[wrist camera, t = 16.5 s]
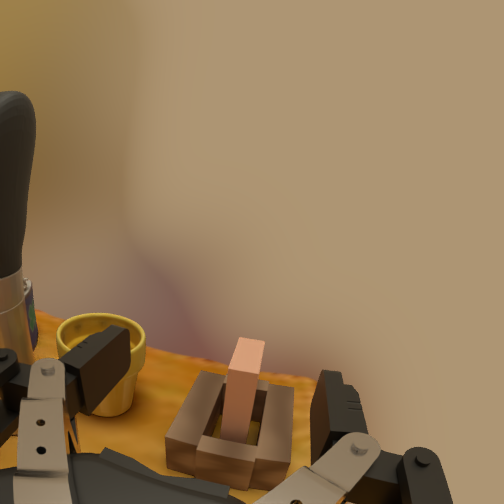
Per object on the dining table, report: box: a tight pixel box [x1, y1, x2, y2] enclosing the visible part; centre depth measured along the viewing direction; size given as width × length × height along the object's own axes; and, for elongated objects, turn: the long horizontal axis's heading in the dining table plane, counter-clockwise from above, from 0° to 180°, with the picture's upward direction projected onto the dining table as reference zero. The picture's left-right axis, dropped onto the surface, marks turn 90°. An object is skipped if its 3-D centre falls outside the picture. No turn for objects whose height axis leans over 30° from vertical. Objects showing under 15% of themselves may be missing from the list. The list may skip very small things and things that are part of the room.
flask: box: [23, 278, 38, 351], centre depth 38 cm, size 9×3×11 cm, turn 28°
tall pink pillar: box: [220, 337, 265, 444], centre depth 28 cm, size 2×6×12 cm, turn 173°
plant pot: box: [56, 313, 146, 417], centre depth 31 cm, size 10×10×10 cm
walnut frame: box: [165, 370, 294, 491], centre depth 29 cm, size 11×13×5 cm
